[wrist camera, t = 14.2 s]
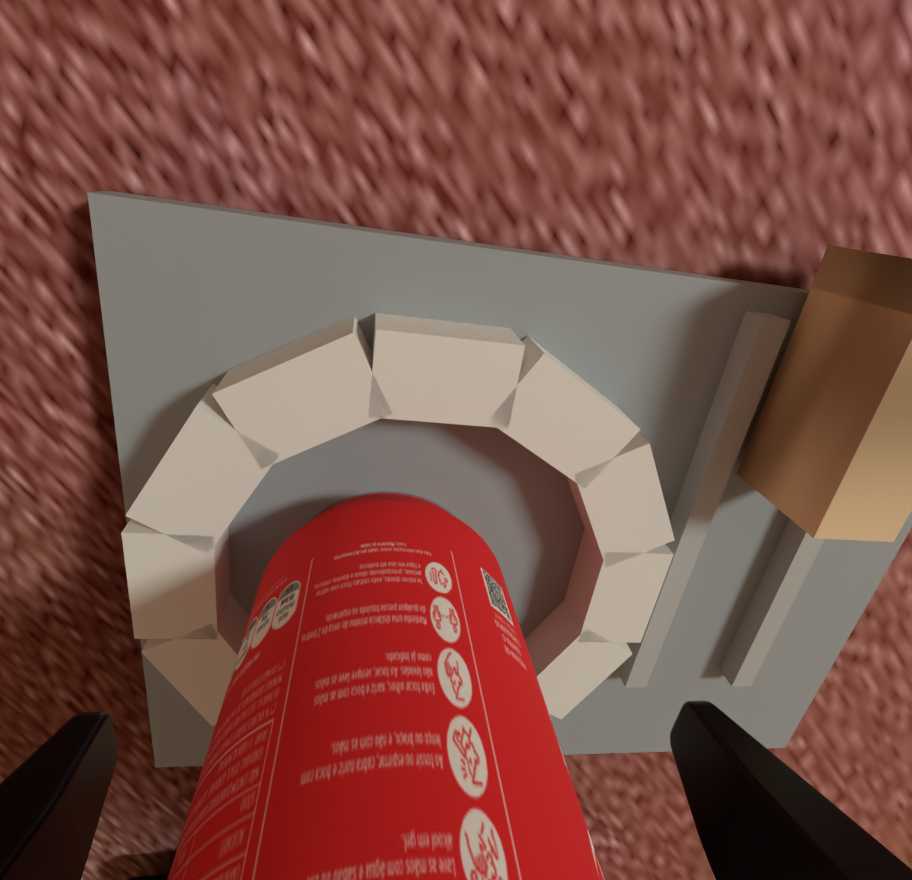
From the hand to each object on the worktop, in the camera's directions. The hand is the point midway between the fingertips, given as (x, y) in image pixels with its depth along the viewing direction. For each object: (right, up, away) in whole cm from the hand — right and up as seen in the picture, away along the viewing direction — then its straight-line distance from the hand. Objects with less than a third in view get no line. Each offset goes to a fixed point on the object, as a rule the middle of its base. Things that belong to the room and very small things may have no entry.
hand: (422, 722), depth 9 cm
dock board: (+3, +2, +5) cm, 6 cm away
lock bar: (+8, +6, +3) cm, 11 cm away
